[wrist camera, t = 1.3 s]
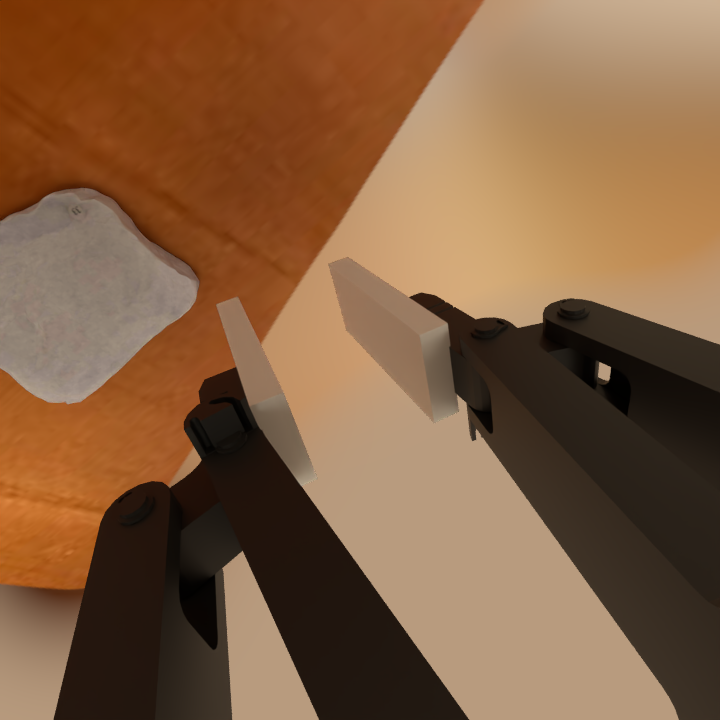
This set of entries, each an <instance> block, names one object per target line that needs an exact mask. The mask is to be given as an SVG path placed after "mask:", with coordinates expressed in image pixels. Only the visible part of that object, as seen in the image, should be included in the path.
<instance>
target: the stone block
mask: <svg viewBox="0 0 720 720" xmlns="http://www.w3.org/2000/svg"><path fill="white" fill-rule="evenodd" d="M198 288H199V280H198V278H197V276H196V275H195V274H194V272H193V271H192V269H191V267H190V266H188V265H187V264H186V263H184V262H183V261H181V260H180V259H178V258H176V257H175V256H173V255H172V254H170V253H168V252H166V251H165V250H164V249H162V248H161V247H160V246H158V245H157V244H155V243H152V242H150V241H149V240H148V239H147V238H146V237H144V236H143V235H142V234H141V232H140V231H139V230H138V229H137V227H136V226H135V224H134V223H133V221H132V219H131V218H130V217H129V216H128V215H127V214H126V213H125V212H124V211H123V210H122V209H121V208H120V207H119V205H118V204H117V203H116V202H115V201H114V200H113V199H112V198H110V197H108V196H105V195H103V194H101V193H99V192H98V191H96V190H93V189H87V188H78V189H65V190H62V191H58V192H53V193H51V194H48V195H47V196H45V197H44V198H42V199H41V200H40V201H39V202H38V203H37V204H35V205H33V206H31V207H29V208H27V209H25V210H23V211H20V212H17V213H13V214H11V215H9V216H7V217H6V218H5V219H3V220H1V221H0V368H1V369H2V370H4V371H6V372H7V373H9V374H10V375H11V376H12V377H13V378H14V379H15V380H16V381H17V382H18V383H19V384H20V385H22V386H23V387H24V388H25V389H26V390H27V391H29V392H30V393H32V394H33V395H35V396H36V397H38V398H41V399H43V400H45V401H47V402H54V403H61V402H66V403H67V404H71V403H76V402H81V401H82V400H83V399H85V398H86V397H87V396H89V395H90V394H92V393H93V392H94V391H96V390H97V389H98V388H100V387H101V386H102V385H103V384H104V383H105V382H106V381H107V380H108V379H109V378H110V377H112V376H113V375H114V374H115V373H116V372H117V371H119V370H120V369H121V368H122V367H123V366H124V365H125V364H126V363H127V362H128V361H129V360H130V359H131V358H132V357H133V356H134V355H135V354H136V353H137V352H138V351H139V350H140V349H141V348H142V347H143V346H144V345H145V344H146V343H147V342H148V341H150V340H151V339H152V338H153V337H154V336H155V335H157V334H158V333H160V332H161V331H162V330H163V329H164V328H165V327H166V326H168V325H170V324H171V323H173V322H174V321H176V320H178V319H179V318H181V317H182V316H183V315H184V314H185V313H186V312H187V311H188V310H189V309H190V308H191V307H192V305H193V304H194V302H195V301H196V297H197V291H198Z"/></svg>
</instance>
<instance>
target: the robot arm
mask: <svg viewBox="0 0 720 720" xmlns="http://www.w3.org/2000/svg"><path fill="white" fill-rule="evenodd" d="M329 268H330V271H331V275H332V279H333V283H334V286H335V290H336V294H337V297H338V301H339V305H340V308H341V312H342V316H343V319H344V323H345V327H346V330H347V331H348V332H349V333H350V334H351V335H352V336H353V337H354V339H355V340H356V341H357V342H358V343H359V344H360V345H361V346H362V347H363V348H364V349H365V350H366V351H367V352H368V353H369V354H370V355H371V357H373V359H374V360H375V361H376V362H377V363H378V364H379V365H380V366H381V367H382V368H383V369H384V370H385V371H386V372H387V373H388V375H389V376H390V377H391V378H392V379H393V380H394V381H395V382H396V383H397V384H398V385H399V386H400V387H401V388H402V389H403V390H404V391H405V393H406V394H407V395H409V397H410V398H411V399H412V400H413V401H414V402H415V403H416V404H417V405H418V406H419V407H420V409H422V411H423V412H424V413H425V414H426V415H427V416H428V417H429V418H430V419H431V420H432V421H433V422H434V423H436V422H438V421H440V420H442V419H444V418H446V417H448V416H450V415H453V414H455V413H457V412H459V409H458V402H457V395H458V396H459V397H461V398H462V399H463V400H464V401H465V402H466V403H467V411H468V420H469V429H470V436H471V439H472V441H474V440H476V432H475V431H476V429H477V430H478V431H479V433H480V434H481V437H483V438H484V440H485V441H486V442H487V444H488V445H489V447H490V448H491V449H492V451H493V452H494V453H495V455H496V456H497V458H498V459H499V461H500V462H501V463H502V465H503V466H504V467H505V469H506V470H507V472H508V473H509V474H510V476H511V477H512V479H513V480H514V481H515V483H516V484H517V486H518V487H519V488H520V490H521V491H522V492H523V494H524V495H525V496H526V498H527V499H528V501H529V502H530V504H531V505H532V506H533V508H534V509H535V510H536V512H537V513H538V515H539V516H540V517H541V519H542V520H543V522H544V523H545V524H546V526H547V527H548V529H549V530H550V531H551V533H552V534H553V535H554V537H555V538H556V540H557V541H558V542H559V544H560V545H561V547H562V548H563V549H564V551H565V552H566V553H567V555H568V556H569V558H570V559H571V560H572V562H573V563H574V565H575V566H576V567H577V569H578V570H579V572H580V573H581V574H582V576H583V577H584V578H585V580H586V581H587V583H588V584H589V586H590V587H591V588H592V589H593V591H594V592H595V594H596V595H597V597H598V598H599V599H600V601H601V602H602V604H603V605H604V606H605V608H606V609H607V610H608V612H609V613H610V614H611V616H612V617H613V619H614V620H615V622H616V623H617V624H618V626H619V627H620V629H621V630H622V631H623V632H624V634H625V636H626V637H627V638H628V640H629V641H630V642H631V644H632V645H633V646H634V648H635V649H636V651H637V652H638V654H639V655H640V656H641V658H642V659H643V661H644V662H645V663H646V665H647V666H648V667H649V669H650V670H651V672H652V673H653V674H654V676H655V677H656V678H657V680H658V681H659V683H660V684H661V685H662V687H663V688H664V690H665V692H666V693H667V695H668V696H669V698H670V700H671V702H672V703H673V705H674V707H675V709H676V712H677V715H678V718H679V720H720V345H719V344H716V343H713V342H710V341H707V340H704V339H701V338H698V337H695V336H692V335H689V334H687V333H683V332H681V331H678V330H675V329H672V328H669V327H666V326H663V325H660V324H657V323H654V322H651V321H648V320H645V319H642V318H639V317H636V316H633V315H630V314H628V313H624V312H622V311H619V310H616V309H613V308H610V307H607V306H604V305H601V304H598V303H595V302H592V301H587V300H582V299H567V300H566V299H564V300H560V301H557V302H554V303H551V304H550V305H548V306H547V307H546V308H545V310H544V312H543V323H540V324H535V325H530V326H526V327H521V328H517V327H515V326H514V325H513V324H512V323H510V322H508V321H506V320H504V319H499V318H481V319H474V318H472V317H471V316H469V315H467V314H466V313H464V312H462V311H461V310H459V309H457V308H456V307H454V308H453V306H452V305H450V304H449V303H447V302H446V303H445V301H444V300H442V299H440V298H439V297H437V296H435V295H431V294H425V293H419V294H416V295H413V296H411V297H407V296H406V295H404V294H403V293H401V292H400V291H398V290H397V289H395V288H394V287H392V286H391V285H389V284H388V283H386V282H385V281H383V280H382V279H380V278H379V277H377V276H376V275H374V274H373V273H371V272H370V271H368V270H367V269H365V268H364V267H362V266H361V265H359V264H358V263H356V262H355V261H353V260H352V259H350V258H349V257H346V258H343V259H341V260H338V261H335V262H332V263H330V264H329ZM216 306H217V309H218V312H219V315H220V318H221V321H222V324H223V327H224V330H225V333H226V337H227V340H228V343H229V346H230V349H231V352H232V355H233V358H234V361H235V364H236V367H235V368H233V369H230V370H228V371H225V372H223V373H220V374H218V375H215V376H213V377H210V378H207V379H205V380H204V382H203V384H202V386H201V388H200V390H199V397H200V404H199V405H197V406H196V407H195V408H194V409H193V410H192V411H191V412H190V413H189V414H188V415H187V417H186V419H185V421H184V430H185V432H186V434H187V435H188V437H189V439H190V441H191V442H192V444H193V446H194V447H195V449H196V451H197V452H198V454H199V456H200V458H201V459H202V461H201V462H200V464H199V465H198V466H197V467H196V468H195V469H194V470H193V471H192V472H191V473H190V474H189V475H187V476H186V477H185V478H184V479H182V480H181V481H179V482H178V483H177V484H175V485H174V486H172V487H171V488H169V487H168V486H167V485H166V484H164V483H163V482H155V481H151V482H147V483H144V484H140V485H138V486H136V487H134V488H132V489H130V490H128V491H126V492H125V493H124V494H123V495H121V496H120V497H119V498H118V499H116V500H115V501H114V502H113V503H112V505H111V506H110V507H109V508H108V509H107V511H106V512H105V514H104V516H103V518H102V521H101V523H100V527H99V531H98V536H97V540H96V544H95V548H94V552H93V556H92V561H91V565H90V569H89V573H88V577H87V582H86V586H85V590H84V595H83V599H82V603H81V607H80V611H79V615H78V619H77V624H76V628H75V632H74V636H73V640H72V645H71V649H70V653H69V657H68V661H67V666H66V670H65V674H64V678H63V682H62V686H61V690H60V695H59V699H58V703H57V707H56V711H55V716H54V720H232V709H231V693H230V676H229V660H228V642H227V626H226V609H225V593H224V576H223V569H222V568H223V567H224V566H225V565H226V564H227V563H229V562H230V561H231V560H232V559H233V558H234V557H236V556H237V555H238V554H239V553H240V552H242V551H243V552H244V555H245V557H246V559H247V561H248V563H249V566H250V568H251V570H252V572H253V574H254V576H255V579H256V581H257V583H258V585H259V588H260V590H261V592H262V594H263V597H264V599H265V601H266V603H267V605H268V608H269V610H270V612H271V614H272V616H273V619H274V621H275V623H276V625H277V627H278V630H279V632H280V634H281V636H282V639H283V641H284V643H285V645H286V647H287V650H288V652H289V654H290V656H291V658H292V661H293V663H294V665H295V667H296V669H297V672H298V674H299V676H300V678H301V681H302V683H303V685H304V687H305V689H306V692H307V694H308V696H309V698H310V700H311V703H312V705H313V707H314V709H315V711H316V714H317V716H318V718H319V720H469V719H468V717H467V716H466V715H465V713H464V712H463V710H462V709H461V708H460V706H459V705H458V704H457V702H456V701H455V700H454V698H453V697H452V695H451V694H450V692H449V691H448V690H447V688H446V687H445V685H444V684H443V683H442V681H441V680H440V678H439V677H438V676H437V675H436V673H435V672H434V670H433V669H432V667H431V666H430V665H429V663H428V662H427V660H426V659H425V658H424V657H423V655H422V653H421V652H420V651H419V649H418V648H417V646H416V645H415V644H414V642H413V641H412V640H411V638H410V637H409V635H408V634H407V633H406V631H405V630H404V628H403V627H402V626H401V624H400V623H399V621H398V620H397V619H396V617H395V616H394V615H393V613H392V612H391V610H390V609H389V608H388V606H387V605H386V603H385V602H384V601H383V599H382V598H381V597H380V595H379V594H378V592H377V591H376V589H375V588H374V587H373V585H372V584H371V582H370V581H369V580H368V578H367V577H366V575H364V573H363V571H362V570H361V569H360V567H359V566H358V564H357V563H356V562H355V560H354V559H353V558H352V556H351V555H350V553H349V552H348V550H347V549H346V548H345V546H344V545H343V543H342V542H341V541H340V539H339V538H338V537H337V535H336V534H335V532H334V531H333V530H332V528H331V527H330V525H329V524H328V523H327V521H326V520H325V519H324V517H323V516H322V514H321V513H320V512H319V510H318V509H317V507H316V506H315V505H314V503H313V502H312V501H311V499H310V498H309V496H308V495H307V493H306V492H305V491H304V489H303V488H302V486H303V485H305V484H307V483H310V482H312V481H314V480H315V479H317V476H316V473H315V471H314V468H313V466H312V463H311V461H310V458H309V455H308V453H307V451H306V448H305V446H304V443H303V441H302V438H301V435H300V433H299V430H298V428H297V426H296V423H295V421H294V418H293V415H292V413H291V410H290V408H289V405H288V403H287V400H286V398H285V395H284V393H283V391H282V389H281V386H280V384H279V382H278V380H277V378H276V376H275V374H274V372H273V370H272V368H271V365H270V363H269V361H268V359H267V357H266V355H265V353H264V351H263V348H262V346H261V344H260V342H259V340H258V338H257V336H256V334H255V332H254V329H253V327H252V325H251V323H250V321H249V319H248V317H247V315H246V313H245V311H244V308H243V306H242V304H241V302H240V300H239V298H238V297H235V298H232V299H229V300H227V301H224V302H221V303H218V304H216ZM599 362H601V363H603V364H606V365H608V366H610V367H611V374H610V380H609V381H605V380H603V379H601V378H599V377H598V370H599Z"/></svg>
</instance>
